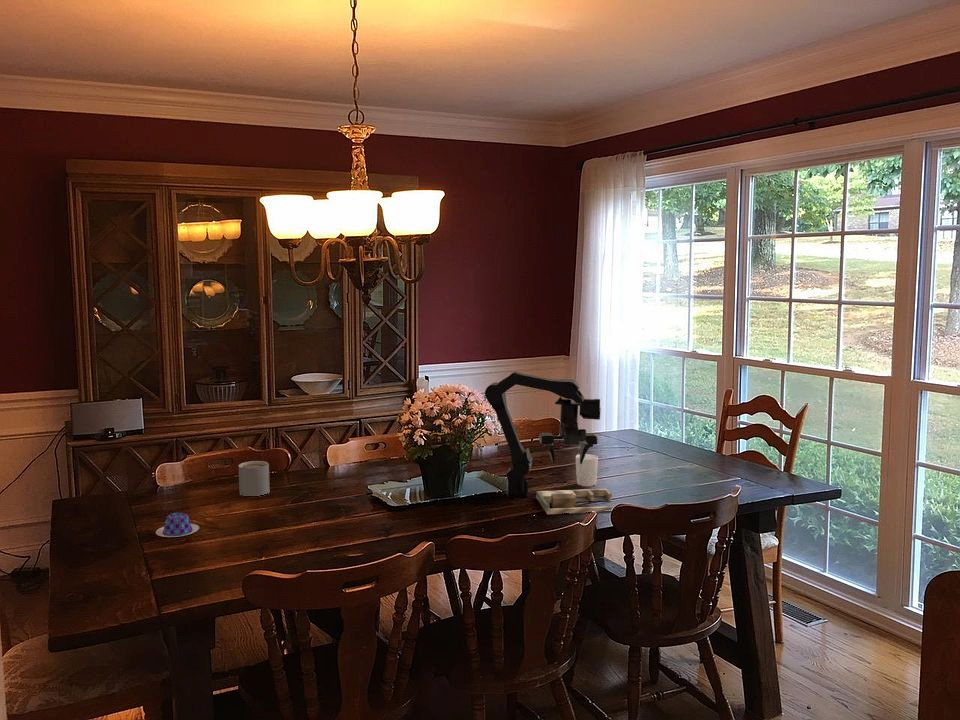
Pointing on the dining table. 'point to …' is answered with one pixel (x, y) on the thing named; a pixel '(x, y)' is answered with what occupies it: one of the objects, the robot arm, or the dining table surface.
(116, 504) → the dining table surface
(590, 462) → the white cup
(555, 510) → the trap lane
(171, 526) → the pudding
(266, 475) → the coffee mug
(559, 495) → the walnut block
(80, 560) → the dining table surface
